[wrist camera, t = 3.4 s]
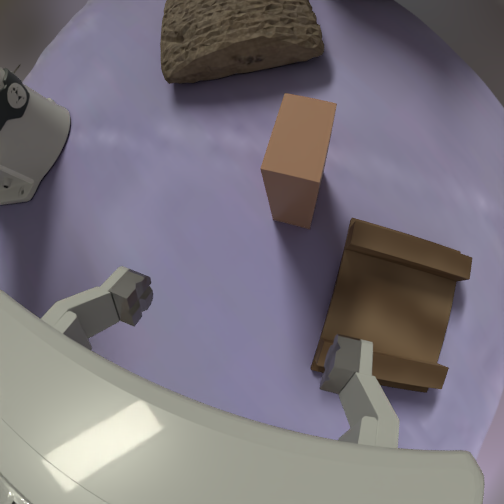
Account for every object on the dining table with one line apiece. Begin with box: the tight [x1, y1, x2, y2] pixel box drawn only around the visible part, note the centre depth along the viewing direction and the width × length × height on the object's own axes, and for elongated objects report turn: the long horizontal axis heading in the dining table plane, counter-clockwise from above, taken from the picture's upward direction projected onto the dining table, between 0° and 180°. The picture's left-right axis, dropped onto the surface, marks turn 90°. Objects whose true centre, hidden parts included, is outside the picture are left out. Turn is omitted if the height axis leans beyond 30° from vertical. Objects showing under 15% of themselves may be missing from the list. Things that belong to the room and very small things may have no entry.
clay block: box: [261, 93, 337, 229], centre depth 22 cm, size 6×4×11 cm, turn 163°
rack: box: [311, 218, 472, 393], centre depth 23 cm, size 14×12×3 cm
